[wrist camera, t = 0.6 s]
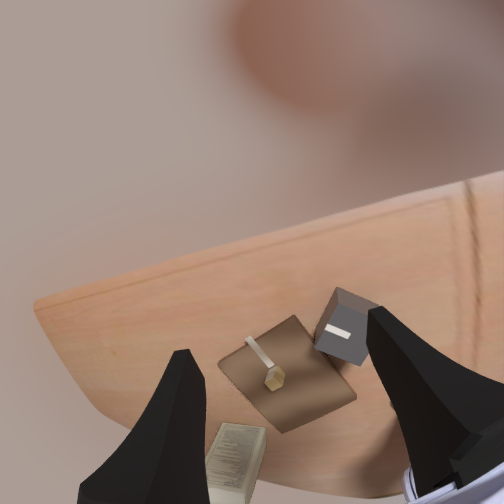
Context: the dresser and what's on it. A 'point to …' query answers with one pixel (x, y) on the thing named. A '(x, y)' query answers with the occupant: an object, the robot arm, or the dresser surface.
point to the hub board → (287, 376)
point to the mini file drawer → (344, 327)
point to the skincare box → (234, 463)
